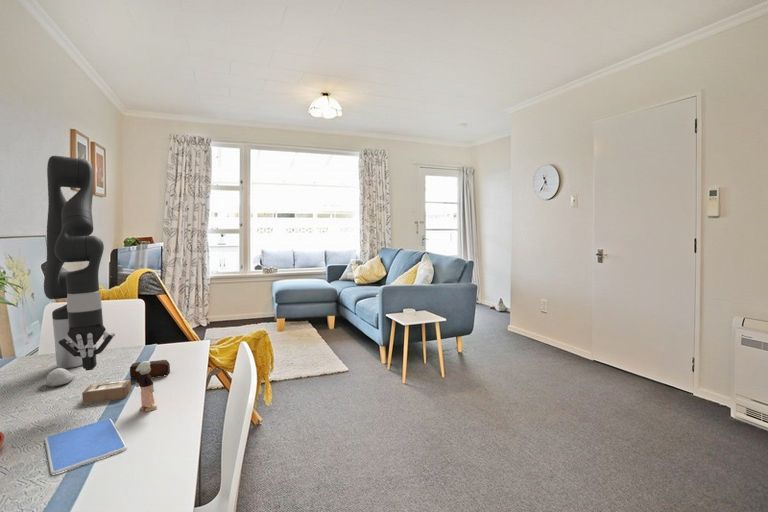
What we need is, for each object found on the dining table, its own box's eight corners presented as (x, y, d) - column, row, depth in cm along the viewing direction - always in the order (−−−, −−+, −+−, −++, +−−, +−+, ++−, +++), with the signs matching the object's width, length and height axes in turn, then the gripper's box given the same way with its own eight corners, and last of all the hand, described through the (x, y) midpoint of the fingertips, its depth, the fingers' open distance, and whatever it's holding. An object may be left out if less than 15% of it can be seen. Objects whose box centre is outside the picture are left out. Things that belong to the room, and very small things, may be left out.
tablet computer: (44, 441, 89) (44, 435, 89) (111, 421, 97) (111, 416, 97) (51, 479, 75) (50, 473, 75) (128, 452, 84) (128, 446, 83)
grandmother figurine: (164, 406, 104) (161, 360, 103) (151, 413, 100) (148, 365, 99) (143, 403, 106) (139, 357, 105) (129, 409, 103) (126, 362, 102)
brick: (130, 381, 123) (129, 366, 122) (133, 376, 126) (132, 362, 126) (168, 376, 126) (167, 362, 126) (170, 372, 130) (169, 358, 130)
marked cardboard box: (90, 384, 112) (130, 379, 115) (91, 396, 112) (131, 390, 116) (82, 392, 106) (124, 386, 110) (83, 405, 107) (125, 399, 110)
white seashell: (37, 386, 120) (35, 370, 120) (66, 377, 128) (65, 362, 127) (53, 390, 117) (51, 374, 116) (82, 380, 124) (81, 365, 124)
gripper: (117, 303, 114) (121, 361, 115) (61, 308, 109) (66, 368, 110) (108, 308, 107) (113, 370, 108) (49, 313, 102) (55, 377, 103)
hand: (90, 369), depth 109 cm, fingers closed
